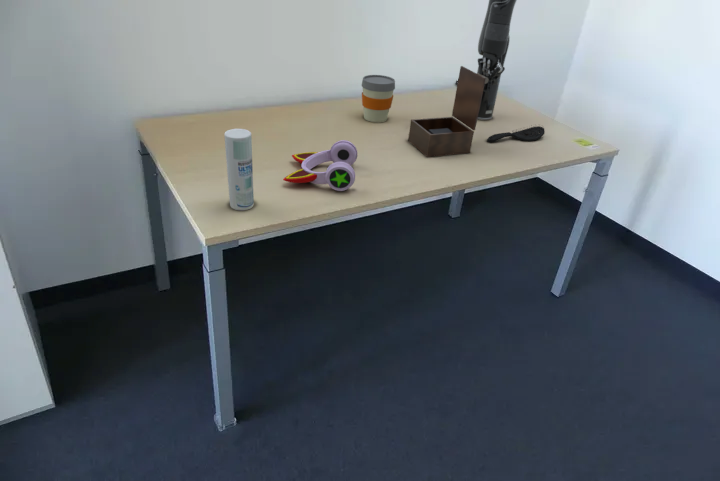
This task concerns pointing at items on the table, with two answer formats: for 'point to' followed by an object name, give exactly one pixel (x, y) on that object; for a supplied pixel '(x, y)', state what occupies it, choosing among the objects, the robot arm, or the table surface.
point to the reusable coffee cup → (377, 97)
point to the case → (440, 136)
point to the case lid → (468, 97)
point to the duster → (439, 131)
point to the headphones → (336, 174)
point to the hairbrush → (520, 134)
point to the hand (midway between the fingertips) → (485, 90)
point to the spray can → (239, 168)
